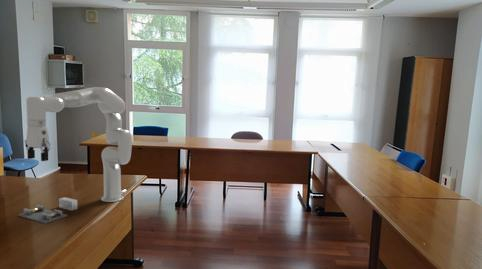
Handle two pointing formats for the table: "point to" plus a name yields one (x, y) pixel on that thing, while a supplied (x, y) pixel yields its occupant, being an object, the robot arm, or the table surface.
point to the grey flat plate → (38, 216)
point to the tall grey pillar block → (68, 203)
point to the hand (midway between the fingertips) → (37, 159)
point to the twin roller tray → (44, 216)
